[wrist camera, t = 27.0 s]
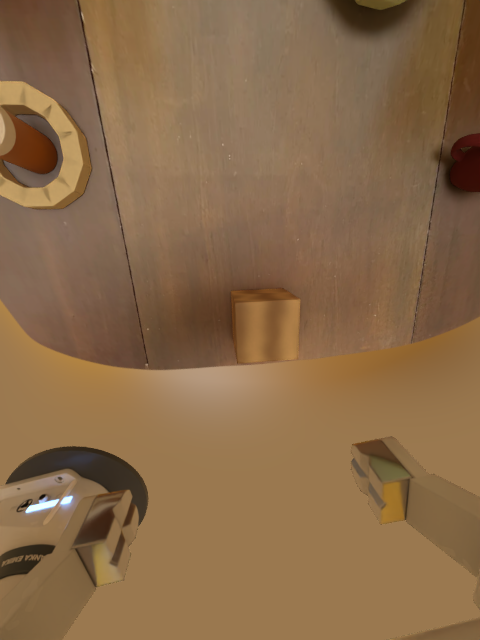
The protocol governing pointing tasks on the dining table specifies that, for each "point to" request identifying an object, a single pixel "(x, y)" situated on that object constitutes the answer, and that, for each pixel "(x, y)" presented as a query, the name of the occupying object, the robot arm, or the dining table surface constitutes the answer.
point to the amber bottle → (25, 145)
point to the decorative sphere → (379, 3)
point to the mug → (466, 163)
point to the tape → (73, 147)
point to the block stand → (265, 325)
